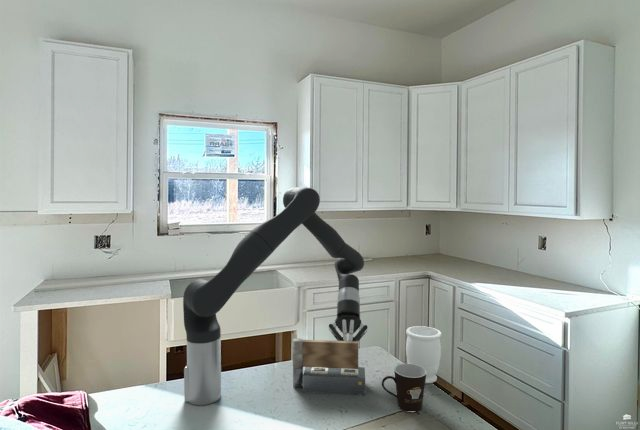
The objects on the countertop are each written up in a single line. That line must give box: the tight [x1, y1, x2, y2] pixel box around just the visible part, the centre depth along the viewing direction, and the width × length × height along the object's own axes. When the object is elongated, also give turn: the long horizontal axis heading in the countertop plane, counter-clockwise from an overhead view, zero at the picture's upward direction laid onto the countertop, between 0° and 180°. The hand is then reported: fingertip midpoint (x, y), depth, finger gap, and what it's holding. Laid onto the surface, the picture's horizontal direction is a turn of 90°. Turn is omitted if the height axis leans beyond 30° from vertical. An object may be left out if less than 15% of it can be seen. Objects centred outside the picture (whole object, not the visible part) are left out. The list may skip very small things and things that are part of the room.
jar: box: [405, 325, 442, 384], centre depth 123 cm, size 11×10×15 cm
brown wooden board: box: [292, 338, 359, 369], centre depth 116 cm, size 20×3×8 cm, turn 85°
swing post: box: [292, 366, 304, 389], centre depth 118 cm, size 3×3×6 cm
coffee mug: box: [381, 362, 427, 413], centre depth 107 cm, size 12×9×10 cm
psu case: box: [302, 366, 366, 396], centre depth 116 cm, size 18×7×5 cm, turn 85°
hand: (347, 354), depth 119 cm, fingers closed
